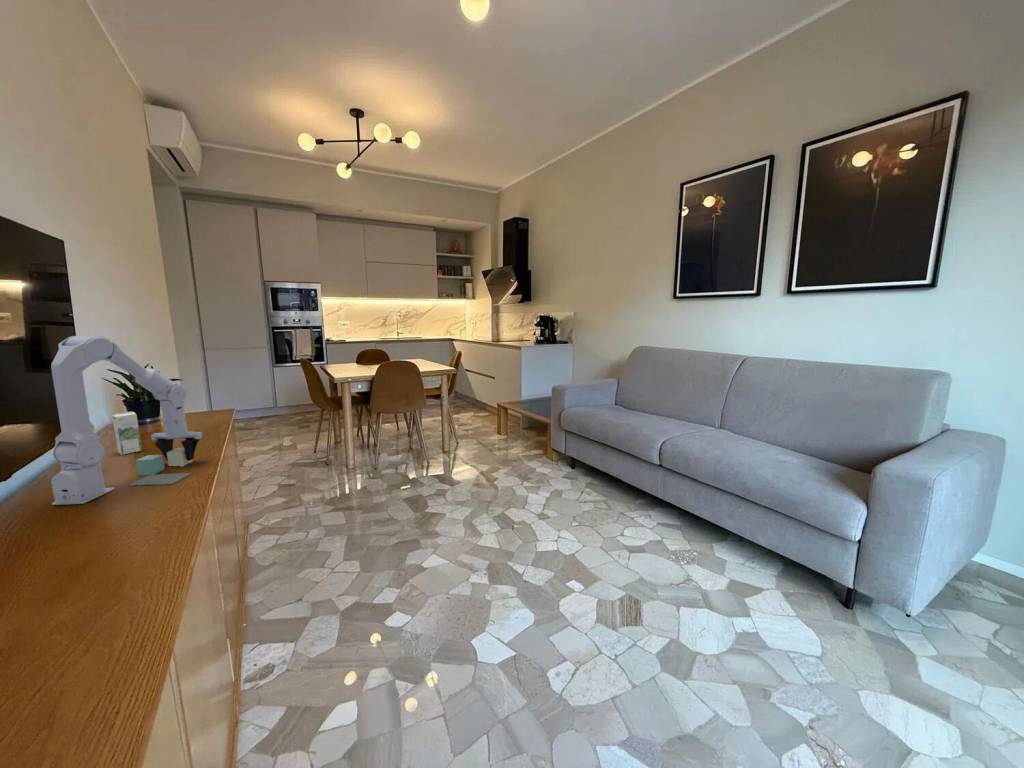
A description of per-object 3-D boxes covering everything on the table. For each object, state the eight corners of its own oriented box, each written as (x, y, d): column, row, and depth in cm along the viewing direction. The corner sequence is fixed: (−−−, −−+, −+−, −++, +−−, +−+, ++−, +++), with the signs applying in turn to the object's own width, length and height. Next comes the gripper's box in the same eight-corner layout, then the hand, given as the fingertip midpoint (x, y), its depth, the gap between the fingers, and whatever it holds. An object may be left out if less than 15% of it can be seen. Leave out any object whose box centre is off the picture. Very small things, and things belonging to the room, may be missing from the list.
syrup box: (138, 448, 154) (131, 410, 152) (142, 451, 151) (136, 412, 148) (117, 452, 150) (110, 413, 147) (121, 455, 146) (114, 416, 144)
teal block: (153, 475, 128) (151, 459, 127) (138, 475, 128) (135, 460, 127) (164, 469, 133) (162, 454, 132) (149, 470, 132) (147, 455, 131)
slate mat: (172, 484, 120) (172, 483, 120) (128, 486, 120) (128, 484, 119) (191, 474, 128) (191, 473, 128) (150, 475, 127) (150, 474, 127)
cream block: (183, 466, 135) (181, 451, 134) (168, 467, 135) (166, 452, 134) (192, 461, 140) (190, 447, 139) (178, 462, 139) (176, 448, 139)
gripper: (205, 416, 139) (211, 455, 142) (160, 417, 138) (166, 456, 141) (191, 422, 132) (197, 462, 135) (143, 423, 131) (150, 463, 134)
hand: (180, 460), depth 137 cm, fingers open, 6 cm apart
